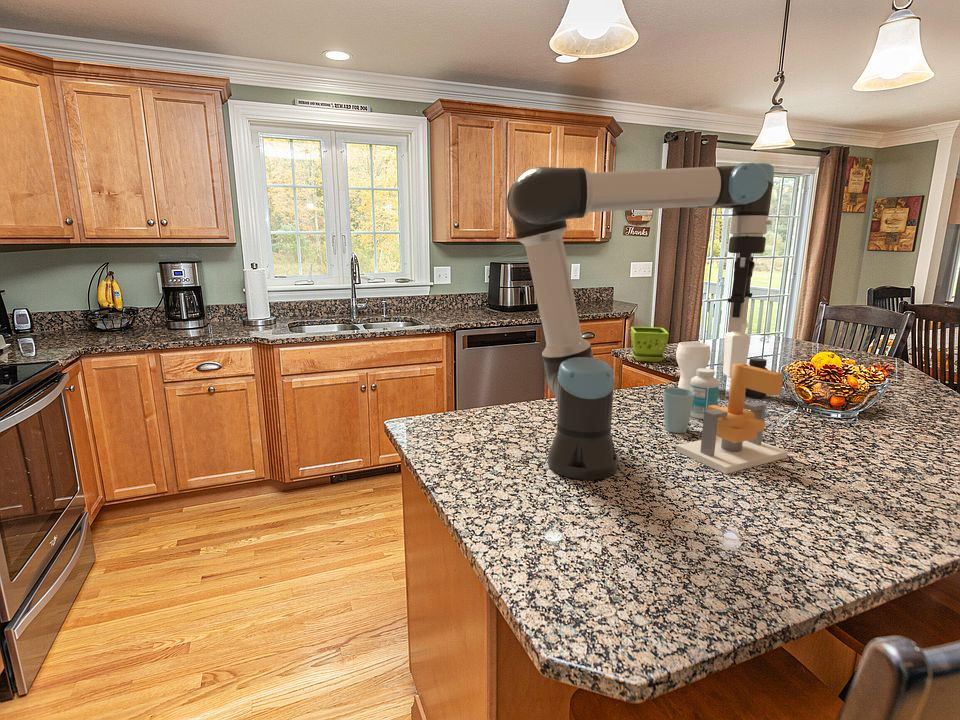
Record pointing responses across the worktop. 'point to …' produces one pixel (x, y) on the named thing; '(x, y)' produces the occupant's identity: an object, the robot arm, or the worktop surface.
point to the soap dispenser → (735, 349)
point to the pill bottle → (703, 391)
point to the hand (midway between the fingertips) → (737, 327)
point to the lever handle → (738, 419)
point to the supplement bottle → (759, 364)
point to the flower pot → (649, 343)
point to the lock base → (733, 457)
